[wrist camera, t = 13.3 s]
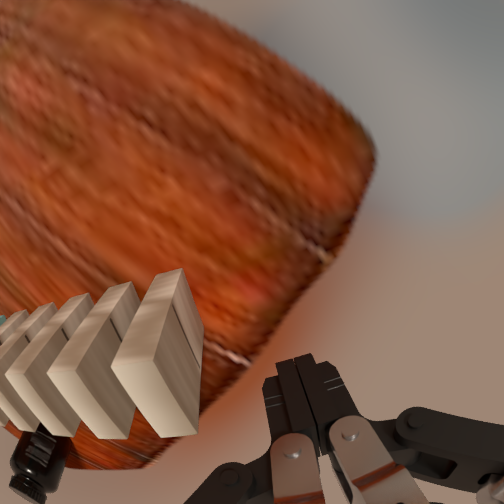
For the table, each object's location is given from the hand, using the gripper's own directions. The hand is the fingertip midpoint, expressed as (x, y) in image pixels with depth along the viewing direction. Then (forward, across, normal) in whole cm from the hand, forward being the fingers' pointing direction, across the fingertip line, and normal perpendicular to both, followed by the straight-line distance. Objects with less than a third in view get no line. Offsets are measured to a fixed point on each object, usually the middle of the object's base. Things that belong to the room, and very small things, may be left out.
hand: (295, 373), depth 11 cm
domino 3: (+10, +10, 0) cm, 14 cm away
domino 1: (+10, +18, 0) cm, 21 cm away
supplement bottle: (+10, +32, +15) cm, 37 cm away
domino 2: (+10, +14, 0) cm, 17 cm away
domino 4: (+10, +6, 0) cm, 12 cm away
